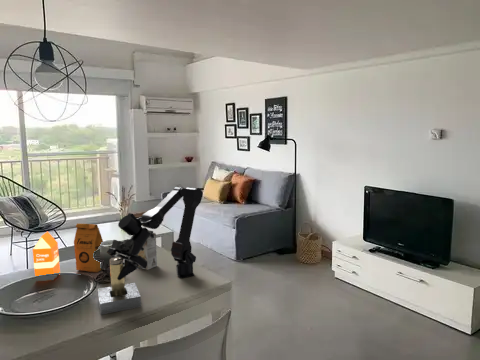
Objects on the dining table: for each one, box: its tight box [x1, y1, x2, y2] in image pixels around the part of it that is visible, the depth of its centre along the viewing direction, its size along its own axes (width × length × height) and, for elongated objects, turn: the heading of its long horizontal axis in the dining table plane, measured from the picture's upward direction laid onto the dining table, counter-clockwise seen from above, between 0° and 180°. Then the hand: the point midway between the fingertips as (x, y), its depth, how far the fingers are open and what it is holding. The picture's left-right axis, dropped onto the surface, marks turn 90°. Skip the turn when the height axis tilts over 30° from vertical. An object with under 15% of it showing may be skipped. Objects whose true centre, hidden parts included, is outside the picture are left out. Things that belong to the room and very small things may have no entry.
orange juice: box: [32, 231, 61, 277], centre depth 168 cm, size 8×9×20 cm
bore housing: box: [97, 282, 142, 315], centre depth 143 cm, size 14×14×4 cm
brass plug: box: [109, 257, 126, 297], centre depth 142 cm, size 5×5×14 cm
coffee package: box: [73, 223, 104, 273], centre depth 176 cm, size 10×12×22 cm
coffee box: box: [138, 232, 158, 271], centre depth 180 cm, size 9×6×16 cm
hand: (114, 278), depth 140 cm, fingers closed on brass plug, 5 cm apart
